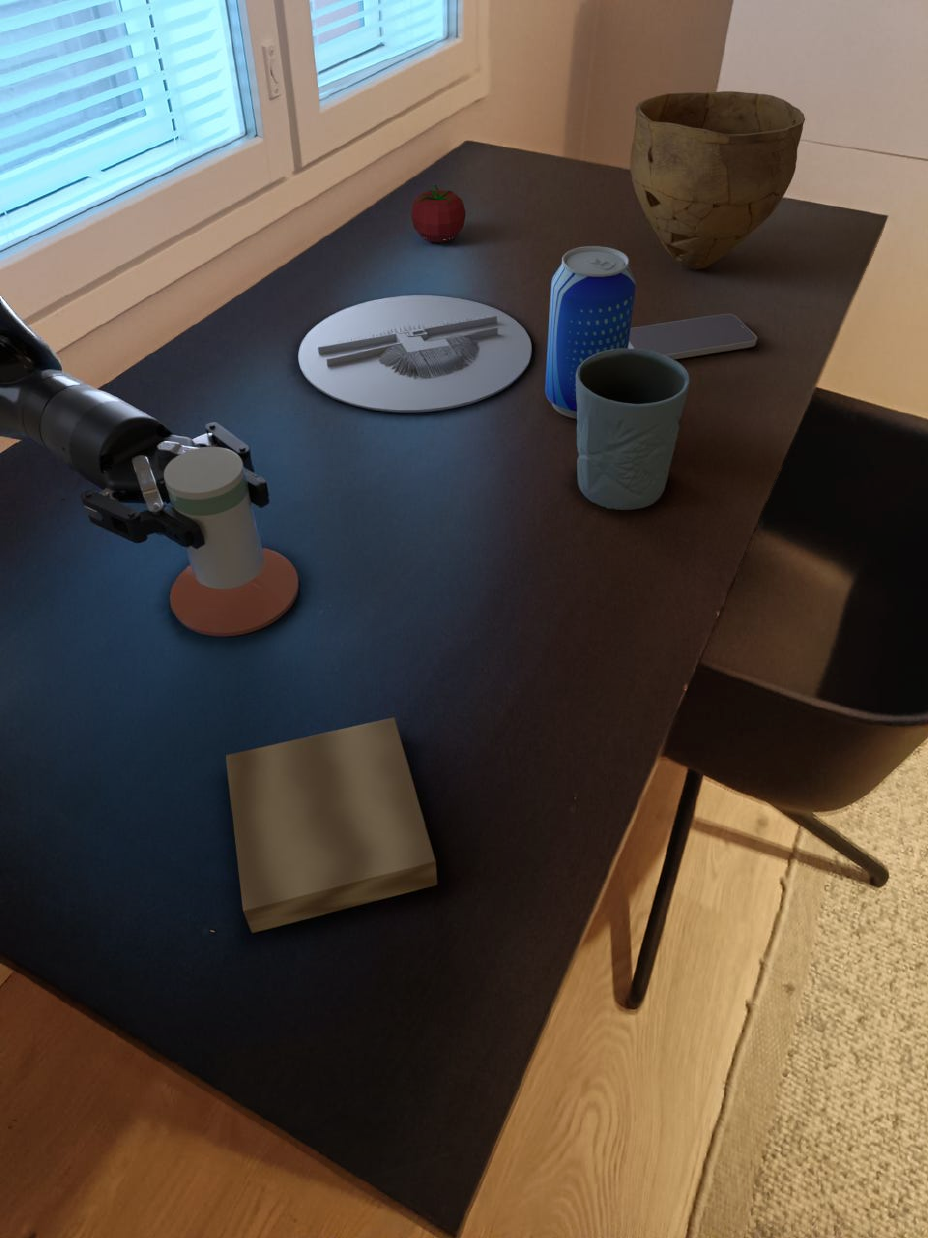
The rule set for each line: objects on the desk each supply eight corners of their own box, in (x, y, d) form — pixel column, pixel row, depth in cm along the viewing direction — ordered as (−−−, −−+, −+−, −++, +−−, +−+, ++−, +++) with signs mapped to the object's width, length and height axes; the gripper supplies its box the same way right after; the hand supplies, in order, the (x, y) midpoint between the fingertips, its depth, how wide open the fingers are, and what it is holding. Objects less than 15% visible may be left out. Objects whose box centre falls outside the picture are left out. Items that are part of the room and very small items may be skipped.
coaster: (174, 648, 73) (172, 644, 73) (168, 563, 81) (167, 559, 81) (307, 621, 75) (306, 617, 75) (289, 540, 83) (289, 536, 83)
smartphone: (618, 329, 109) (732, 312, 111) (618, 336, 110) (730, 319, 112) (642, 358, 104) (760, 340, 106) (641, 366, 105) (759, 347, 107)
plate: (487, 284, 120) (487, 275, 119) (567, 387, 101) (568, 377, 101) (280, 316, 115) (279, 307, 114) (324, 431, 96) (322, 421, 95)
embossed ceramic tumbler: (668, 520, 84) (689, 409, 76) (561, 509, 86) (570, 399, 77) (671, 458, 91) (690, 350, 83) (572, 449, 93) (581, 342, 84)
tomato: (403, 234, 132) (400, 180, 127) (450, 224, 135) (449, 170, 130) (426, 254, 127) (424, 198, 122) (475, 243, 130) (475, 188, 124)
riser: (251, 933, 56) (242, 911, 54) (234, 780, 64) (225, 755, 62) (437, 885, 58) (435, 861, 56) (397, 742, 66) (394, 717, 64)
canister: (233, 599, 73) (207, 502, 66) (177, 574, 75) (145, 478, 68) (279, 555, 77) (259, 459, 70) (224, 533, 79) (199, 438, 72)
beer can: (558, 428, 96) (568, 282, 84) (535, 388, 101) (542, 247, 90) (632, 417, 97) (652, 272, 86) (605, 378, 103) (620, 238, 91)
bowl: (587, 266, 124) (601, 105, 110) (679, 225, 133) (702, 73, 119) (710, 317, 113) (743, 145, 99) (800, 269, 122) (842, 106, 108)
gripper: (16, 441, 71) (145, 525, 64) (163, 368, 79) (293, 435, 72) (48, 515, 77) (171, 600, 69) (183, 440, 85) (306, 509, 77)
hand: (232, 516), depth 70 cm, fingers closed on canister, 6 cm apart
